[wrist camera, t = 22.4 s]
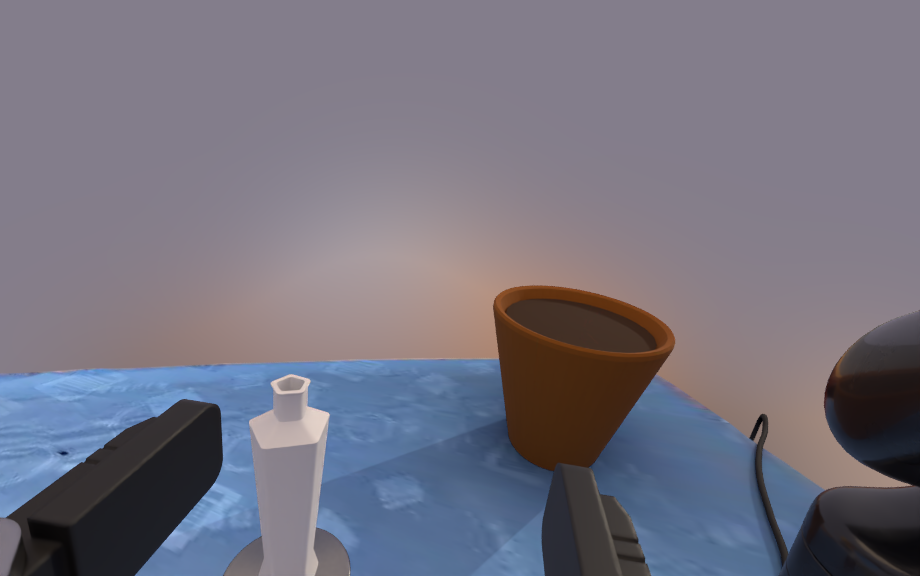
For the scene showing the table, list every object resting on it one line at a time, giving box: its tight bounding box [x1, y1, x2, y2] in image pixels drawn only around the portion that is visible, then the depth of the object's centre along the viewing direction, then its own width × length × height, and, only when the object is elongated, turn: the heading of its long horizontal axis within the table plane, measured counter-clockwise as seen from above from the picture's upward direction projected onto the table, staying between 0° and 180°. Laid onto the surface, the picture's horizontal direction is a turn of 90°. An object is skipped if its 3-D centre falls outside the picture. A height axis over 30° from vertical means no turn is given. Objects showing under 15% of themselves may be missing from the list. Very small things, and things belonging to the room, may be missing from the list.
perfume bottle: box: [249, 375, 329, 576], centre depth 27 cm, size 5×4×15 cm
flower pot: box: [493, 286, 675, 471], centre depth 62 cm, size 24×24×20 cm
